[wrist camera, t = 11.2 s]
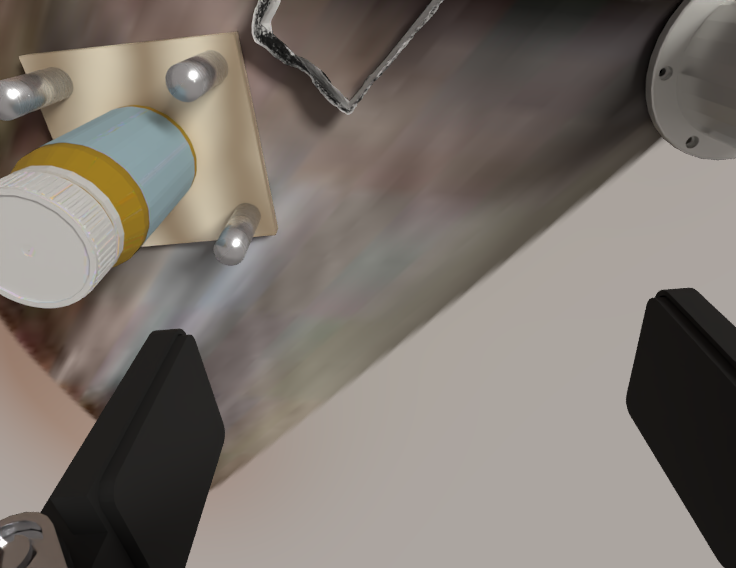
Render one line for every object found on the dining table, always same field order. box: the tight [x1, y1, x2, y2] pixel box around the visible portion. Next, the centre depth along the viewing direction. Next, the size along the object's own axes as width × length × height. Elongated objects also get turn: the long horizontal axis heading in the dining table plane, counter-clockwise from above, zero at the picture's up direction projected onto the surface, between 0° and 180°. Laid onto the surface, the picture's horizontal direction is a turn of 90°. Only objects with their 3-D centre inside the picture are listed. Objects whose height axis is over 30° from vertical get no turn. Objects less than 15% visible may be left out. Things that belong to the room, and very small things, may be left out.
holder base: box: [19, 32, 278, 247], centre depth 36 cm, size 14×14×1 cm
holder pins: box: [0, 50, 261, 266], centre depth 33 cm, size 12×12×6 cm
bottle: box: [0, 105, 197, 308], centre depth 29 cm, size 7×7×15 cm
